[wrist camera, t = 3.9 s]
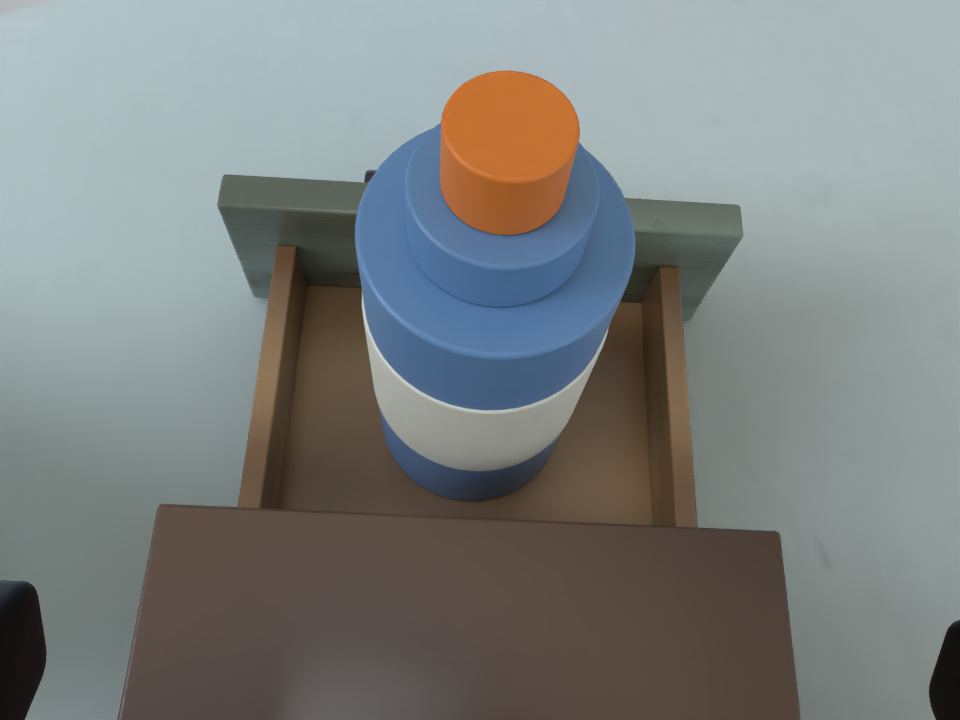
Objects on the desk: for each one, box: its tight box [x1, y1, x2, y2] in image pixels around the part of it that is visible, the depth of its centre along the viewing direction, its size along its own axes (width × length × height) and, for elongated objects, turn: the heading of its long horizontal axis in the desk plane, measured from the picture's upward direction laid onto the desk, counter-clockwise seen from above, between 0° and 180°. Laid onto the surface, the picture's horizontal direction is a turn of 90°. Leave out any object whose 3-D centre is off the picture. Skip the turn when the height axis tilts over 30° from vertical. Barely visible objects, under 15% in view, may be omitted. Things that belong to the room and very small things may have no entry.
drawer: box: [217, 170, 743, 528], centre depth 19 cm, size 15×12×4 cm
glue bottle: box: [355, 71, 635, 501], centre depth 16 cm, size 4×4×11 cm
